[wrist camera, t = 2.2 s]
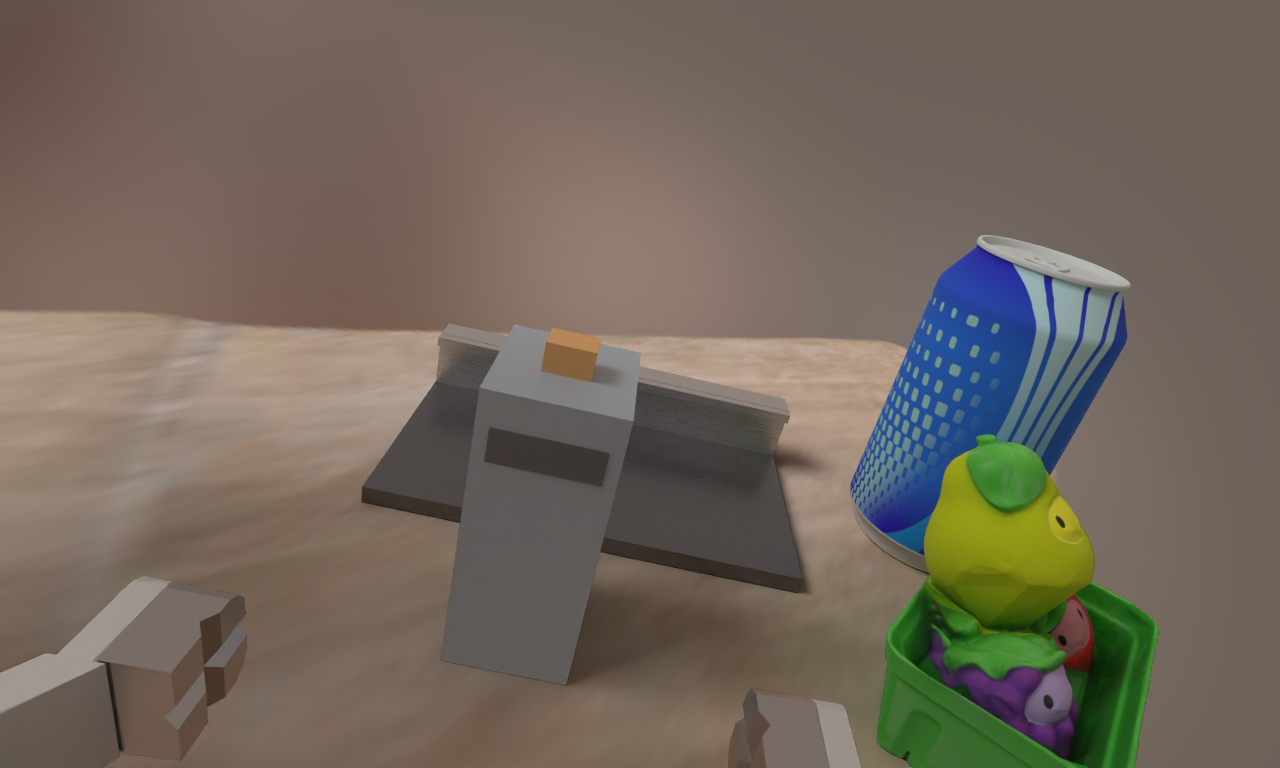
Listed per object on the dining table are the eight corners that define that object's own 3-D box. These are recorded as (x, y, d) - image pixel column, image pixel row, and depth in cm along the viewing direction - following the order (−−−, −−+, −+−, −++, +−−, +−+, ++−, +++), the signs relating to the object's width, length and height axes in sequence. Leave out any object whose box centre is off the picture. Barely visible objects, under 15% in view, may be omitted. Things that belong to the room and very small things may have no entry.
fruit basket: (1046, 909, 22) (1267, 649, 17) (799, 717, 26) (918, 466, 22) (1098, 705, 31) (1254, 493, 26) (905, 586, 35) (1007, 385, 30)
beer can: (824, 477, 43) (930, 216, 36) (953, 500, 44) (1081, 251, 37) (869, 574, 35) (1015, 267, 28) (1023, 599, 36) (1200, 309, 29)
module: (440, 661, 25) (483, 357, 20) (476, 565, 30) (519, 297, 24) (566, 686, 25) (641, 392, 20) (582, 586, 30) (647, 326, 25)
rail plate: (361, 501, 31) (366, 428, 30) (450, 369, 44) (457, 313, 42) (797, 592, 33) (824, 527, 31) (762, 438, 45) (781, 386, 44)
